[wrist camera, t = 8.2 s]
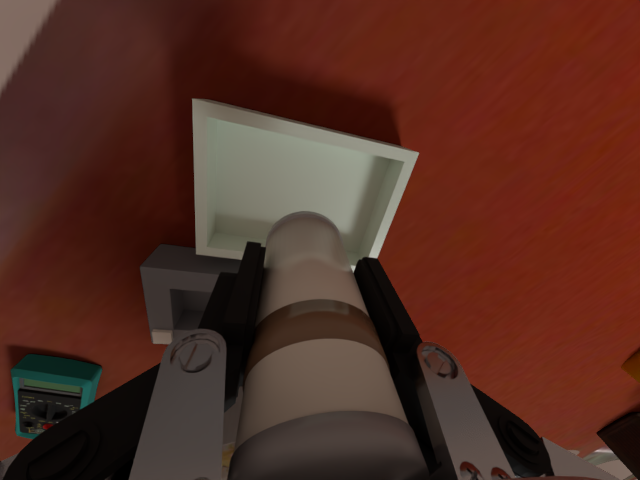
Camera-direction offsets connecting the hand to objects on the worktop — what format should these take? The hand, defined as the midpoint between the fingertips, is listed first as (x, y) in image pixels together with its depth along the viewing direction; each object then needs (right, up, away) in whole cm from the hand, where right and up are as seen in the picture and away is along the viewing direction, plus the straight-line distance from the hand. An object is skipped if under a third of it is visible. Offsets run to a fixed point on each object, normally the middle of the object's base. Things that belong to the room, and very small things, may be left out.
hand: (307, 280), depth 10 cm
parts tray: (-1, +6, +11) cm, 12 cm away
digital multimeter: (-32, -17, +21) cm, 42 cm away
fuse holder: (-11, -3, +15) cm, 18 cm away
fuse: (0, +1, +2) cm, 3 cm away
